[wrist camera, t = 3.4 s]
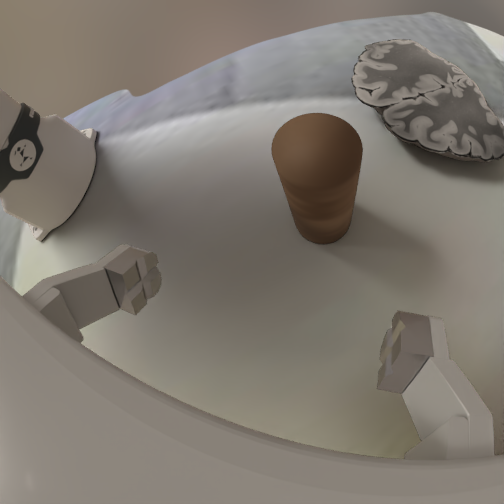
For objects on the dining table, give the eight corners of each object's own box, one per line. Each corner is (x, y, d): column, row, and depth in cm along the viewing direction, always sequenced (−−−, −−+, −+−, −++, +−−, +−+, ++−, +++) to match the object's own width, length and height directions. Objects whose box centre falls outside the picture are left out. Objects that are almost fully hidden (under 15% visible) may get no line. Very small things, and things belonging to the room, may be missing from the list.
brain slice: (317, 79, 27) (314, 61, 24) (413, 49, 25) (415, 34, 22) (430, 212, 20) (442, 198, 18) (515, 152, 19) (525, 139, 16)
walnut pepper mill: (285, 232, 23) (257, 170, 14) (306, 184, 24) (290, 106, 14) (339, 252, 22) (348, 198, 12) (357, 201, 22) (371, 125, 13)
